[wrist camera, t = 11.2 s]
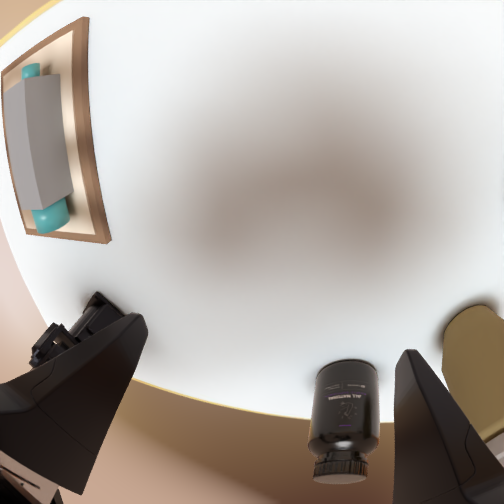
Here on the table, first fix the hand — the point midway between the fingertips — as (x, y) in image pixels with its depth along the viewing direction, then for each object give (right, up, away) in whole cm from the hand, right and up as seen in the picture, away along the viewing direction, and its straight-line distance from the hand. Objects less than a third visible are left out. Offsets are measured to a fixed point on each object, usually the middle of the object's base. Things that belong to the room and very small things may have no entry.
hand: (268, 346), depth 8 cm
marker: (-18, +13, +10) cm, 25 cm away
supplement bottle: (+10, -10, +18) cm, 23 cm away
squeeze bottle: (+21, -4, +12) cm, 24 cm away
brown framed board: (-21, +14, +11) cm, 28 cm away
